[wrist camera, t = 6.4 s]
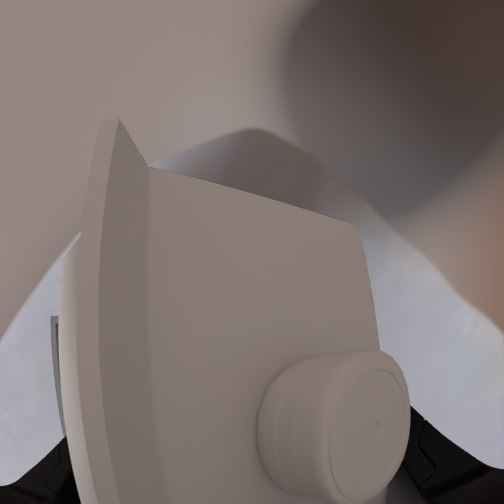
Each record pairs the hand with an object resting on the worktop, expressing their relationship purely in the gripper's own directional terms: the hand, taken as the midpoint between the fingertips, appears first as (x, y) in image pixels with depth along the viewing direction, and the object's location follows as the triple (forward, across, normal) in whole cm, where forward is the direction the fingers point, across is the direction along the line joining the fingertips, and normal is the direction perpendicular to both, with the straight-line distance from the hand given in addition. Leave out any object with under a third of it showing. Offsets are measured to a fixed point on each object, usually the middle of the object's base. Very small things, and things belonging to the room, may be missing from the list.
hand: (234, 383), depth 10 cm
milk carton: (+8, +1, +8) cm, 11 cm away
